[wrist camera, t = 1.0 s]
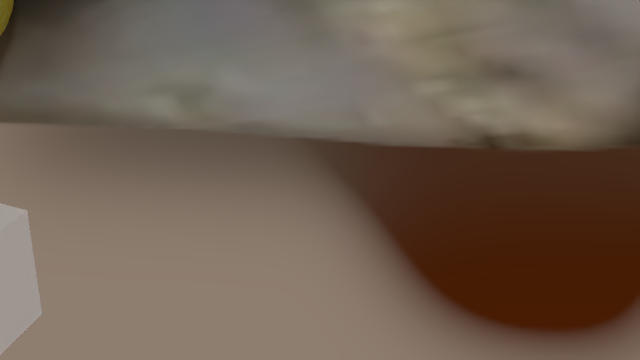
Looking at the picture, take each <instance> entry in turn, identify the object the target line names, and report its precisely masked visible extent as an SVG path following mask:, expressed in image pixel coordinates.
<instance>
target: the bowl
mask: <svg viewBox="0 0 640 360" xmlns="http://www.w3.org/2000/svg"><path fill="white" fill-rule="evenodd" d="M13 3H14V0H0V36H1V35H2V33H3V31H4V30H5V28H6V26H7V24H8V21H9V18H10V15H11V13H12V9H13Z"/></svg>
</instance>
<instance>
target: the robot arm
mask: <svg viewBox="0 0 640 360" xmlns="http://www.w3.org/2000/svg"><path fill="white" fill-rule="evenodd" d="M41 315H42V311H41V304H40V297H39V290H38V283H37V276H36V269H35V263H34V255H33V249H32V241H31V235H30V228H29V221H28V214H27V211H26V210H23V209H19V208H15V207H12V206H8V205H4V204H0V355H1V354H2V353H3V352H4V351H5V350H6V349H7V348H8V347H9V346H10V345H11V344H12V343H13V342H14V341H15V340H16V339H17V338H18V337H19V336H20V335H21V334H22V333H23V332H24V331H25V330H26V329H27V328H28V327H29V326H30V325H31V324H32V323H33V322H34V321H35V320H36V319H37V318H38V317H39V316H41Z"/></svg>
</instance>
